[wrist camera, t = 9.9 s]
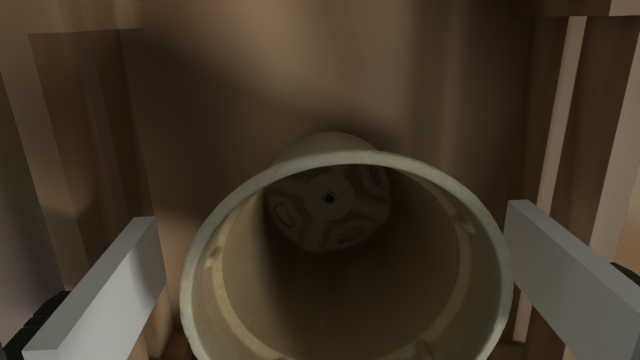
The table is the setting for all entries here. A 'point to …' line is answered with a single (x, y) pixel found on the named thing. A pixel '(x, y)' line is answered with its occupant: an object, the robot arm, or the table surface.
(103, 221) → the crate
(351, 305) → the flower pot
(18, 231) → the table surface
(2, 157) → the table surface
